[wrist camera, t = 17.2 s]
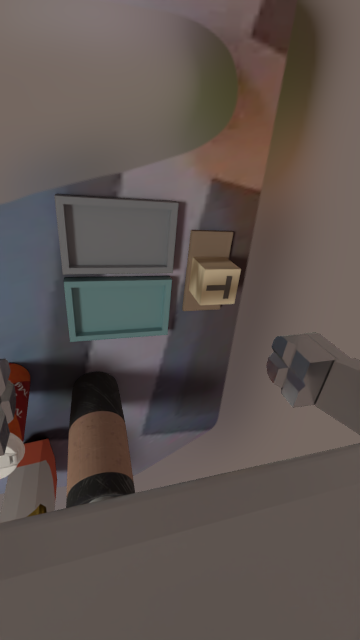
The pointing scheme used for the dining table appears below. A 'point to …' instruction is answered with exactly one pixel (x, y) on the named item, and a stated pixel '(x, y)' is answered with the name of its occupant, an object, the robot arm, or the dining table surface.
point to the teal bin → (117, 306)
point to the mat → (204, 246)
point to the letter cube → (214, 280)
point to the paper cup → (16, 420)
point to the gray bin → (116, 234)
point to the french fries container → (31, 483)
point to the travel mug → (97, 442)
